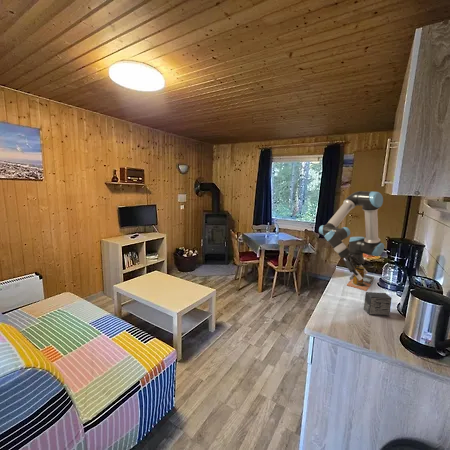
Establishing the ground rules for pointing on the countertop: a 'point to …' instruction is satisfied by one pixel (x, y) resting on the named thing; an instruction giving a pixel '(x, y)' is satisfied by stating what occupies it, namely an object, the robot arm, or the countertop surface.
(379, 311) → the small box
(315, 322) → the countertop surface
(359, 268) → the condiment
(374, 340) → the countertop surface
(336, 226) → the robot arm
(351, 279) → the holder
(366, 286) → the tile
